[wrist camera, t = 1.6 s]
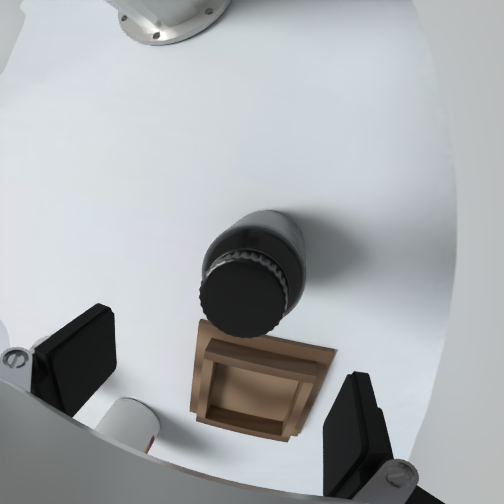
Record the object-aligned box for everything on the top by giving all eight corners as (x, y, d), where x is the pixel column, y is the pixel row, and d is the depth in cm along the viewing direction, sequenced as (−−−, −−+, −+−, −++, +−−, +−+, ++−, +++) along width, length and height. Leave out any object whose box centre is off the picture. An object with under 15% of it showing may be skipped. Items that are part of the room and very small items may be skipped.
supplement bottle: (320, 240, 26) (335, 295, 15) (273, 295, 28) (255, 375, 17) (258, 192, 26) (226, 211, 14) (214, 251, 28) (160, 307, 17)
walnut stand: (200, 318, 30) (191, 334, 27) (334, 349, 29) (336, 367, 26) (190, 408, 34) (183, 424, 31) (297, 433, 33) (296, 450, 30)
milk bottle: (106, 396, 37) (34, 488, 18) (144, 395, 35) (71, 506, 16) (132, 432, 38) (75, 523, 19) (170, 433, 37) (117, 540, 18)
